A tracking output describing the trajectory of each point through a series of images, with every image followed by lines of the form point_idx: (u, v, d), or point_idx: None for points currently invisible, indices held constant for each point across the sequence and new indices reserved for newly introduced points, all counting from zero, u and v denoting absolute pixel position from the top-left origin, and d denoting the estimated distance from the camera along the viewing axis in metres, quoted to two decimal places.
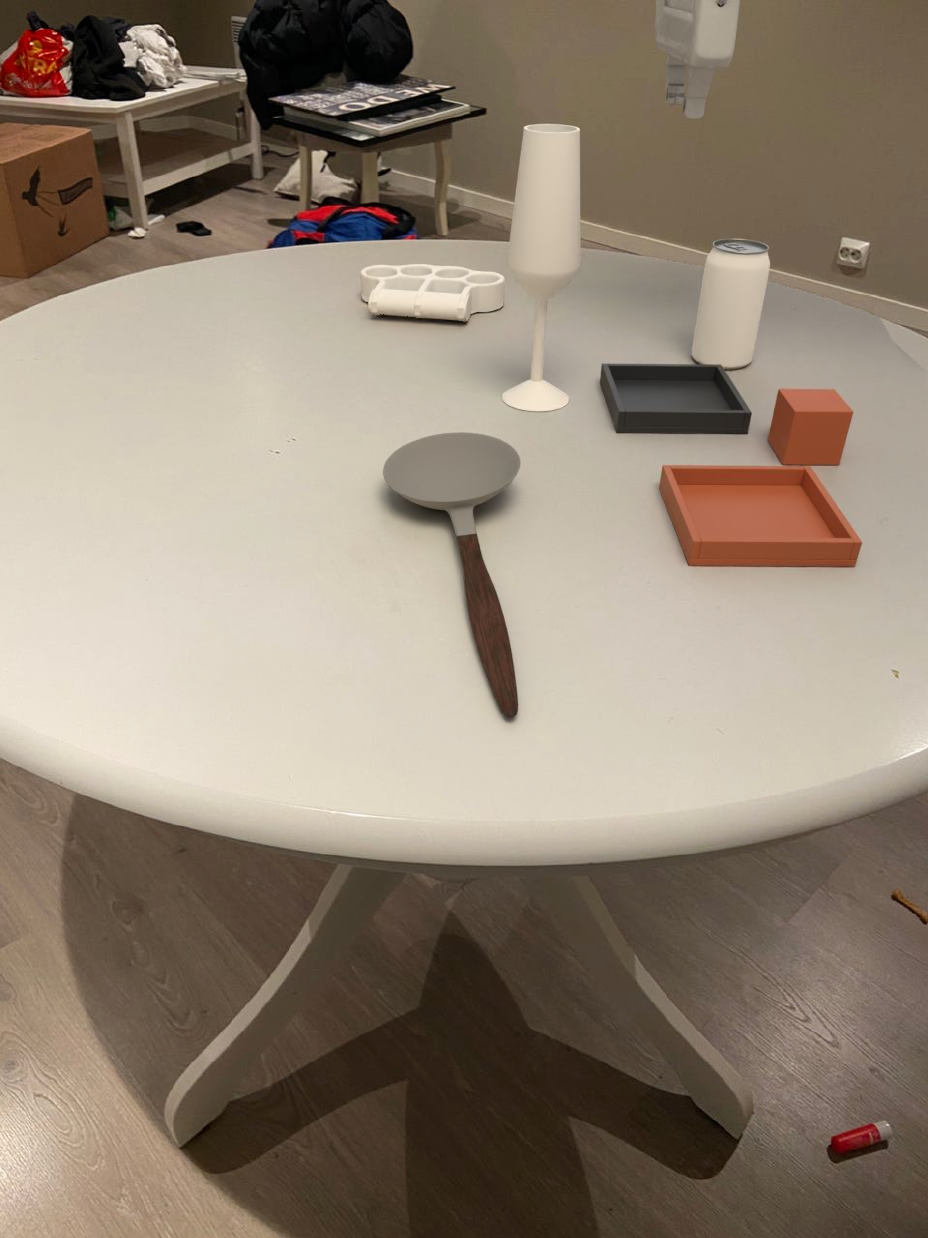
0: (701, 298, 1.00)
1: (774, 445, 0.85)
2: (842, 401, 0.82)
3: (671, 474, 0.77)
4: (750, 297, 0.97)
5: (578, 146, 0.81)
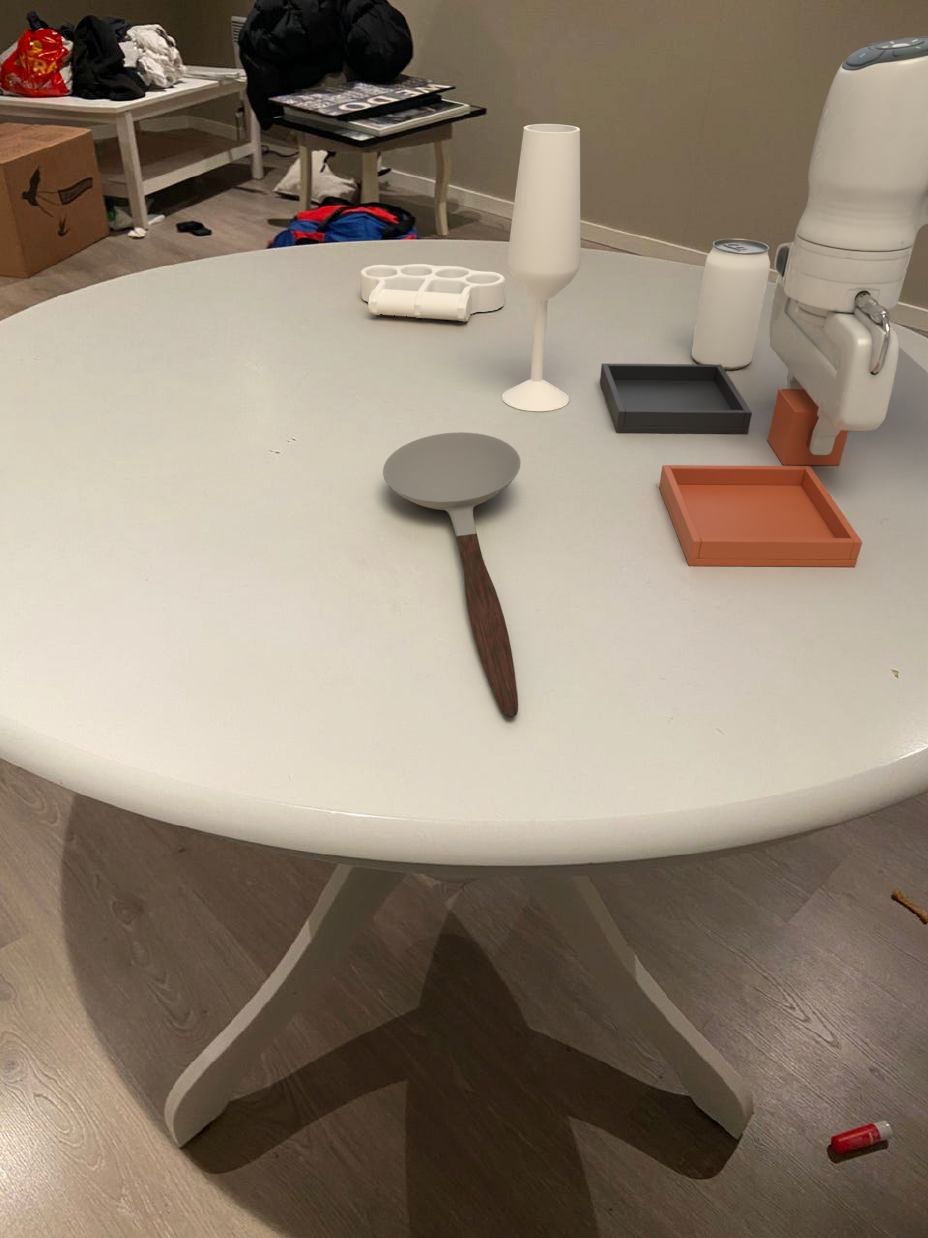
0: (701, 298, 1.00)
1: (774, 446, 0.85)
2: None
3: (671, 474, 0.77)
4: (750, 297, 0.97)
5: (578, 146, 0.81)
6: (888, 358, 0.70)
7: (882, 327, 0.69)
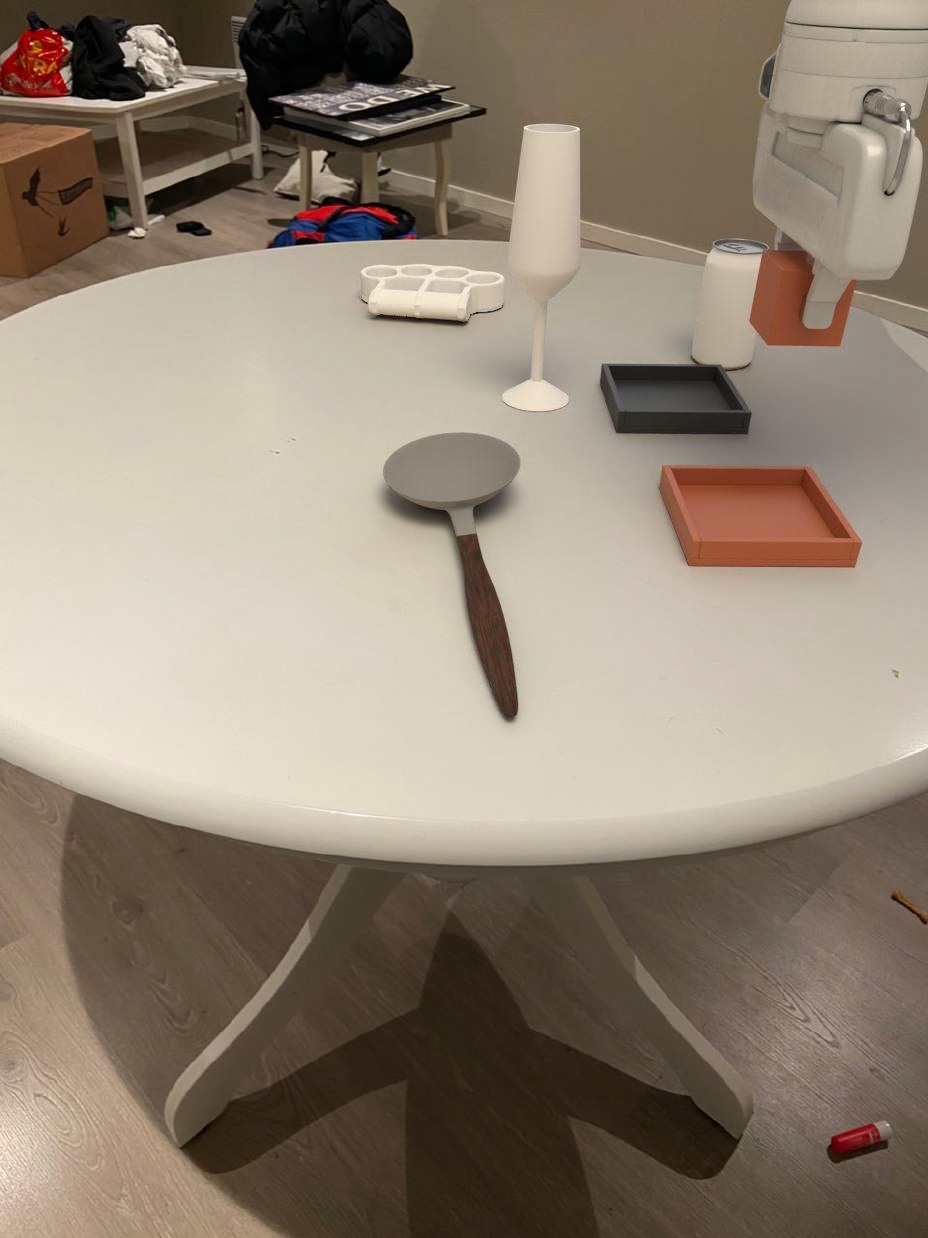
0: (701, 298, 1.00)
1: (758, 324, 0.66)
2: None
3: (671, 474, 0.77)
4: (750, 297, 0.97)
5: (578, 146, 0.81)
6: (908, 172, 0.52)
7: (900, 125, 0.51)
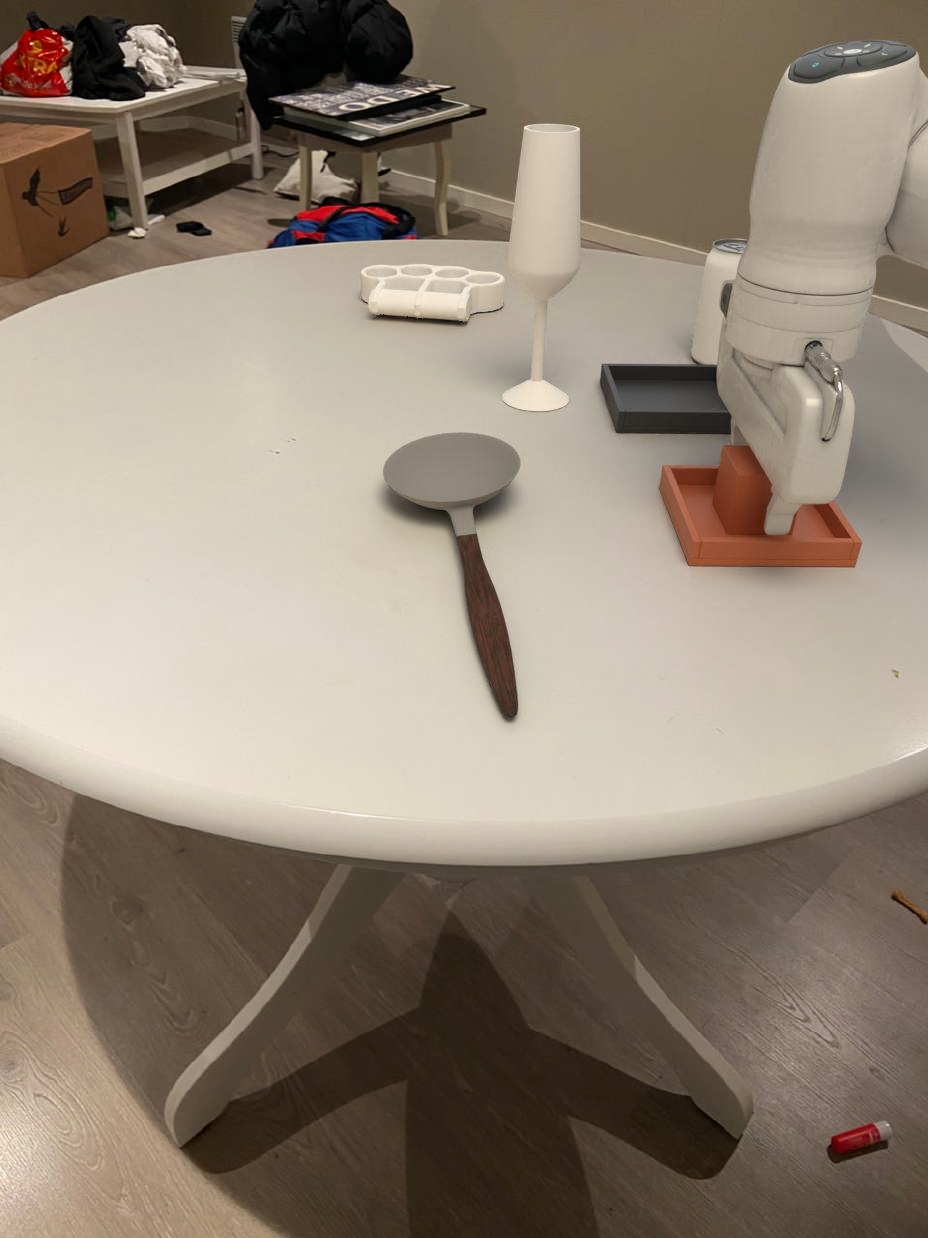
0: (701, 298, 1.00)
1: (719, 510, 0.74)
2: None
3: (671, 474, 0.77)
4: None
5: (578, 146, 0.81)
6: (842, 422, 0.59)
7: (834, 387, 0.58)
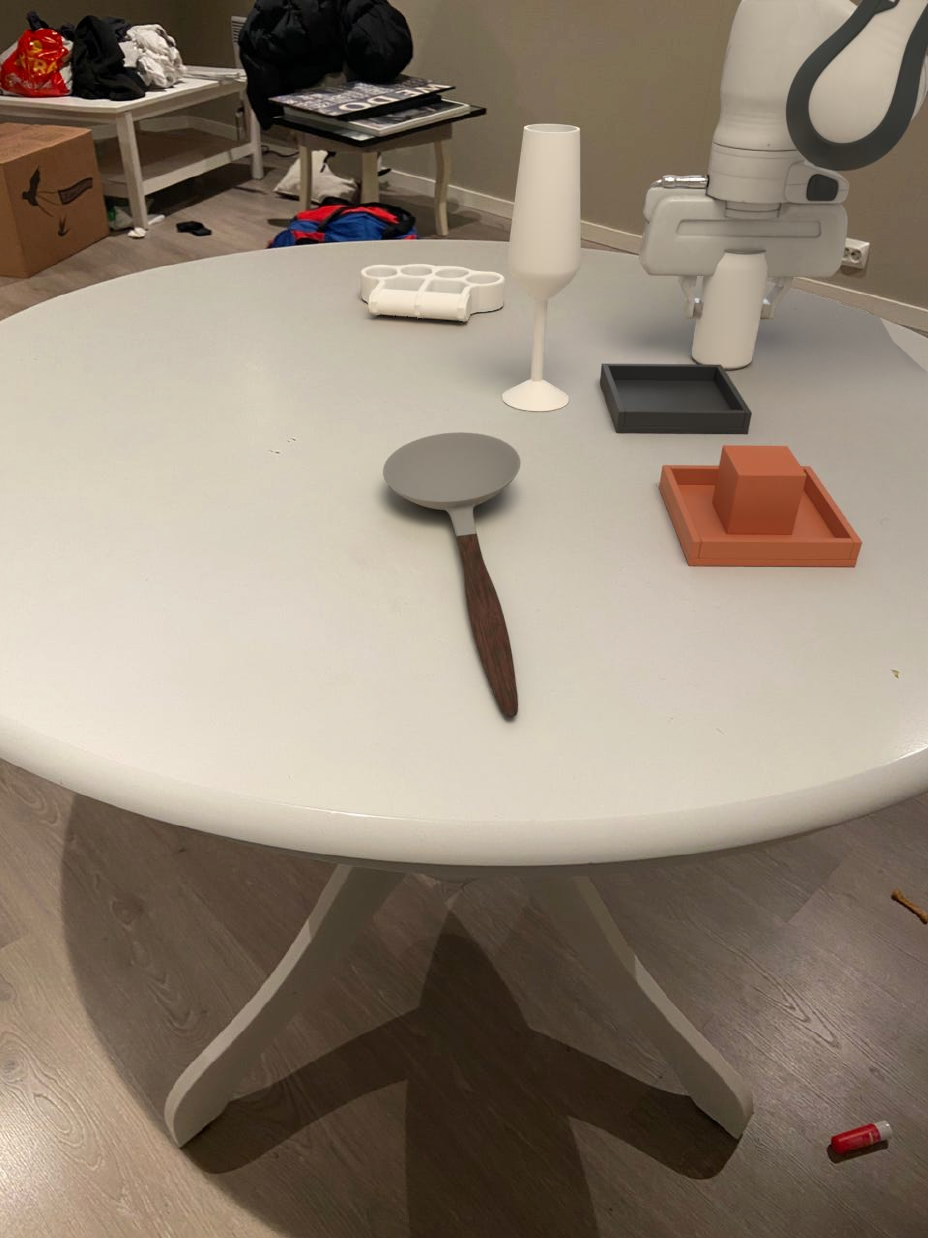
0: (701, 298, 1.00)
1: (719, 510, 0.74)
2: (795, 461, 0.71)
3: (671, 474, 0.77)
4: (750, 297, 0.97)
5: (578, 146, 0.81)
6: (653, 213, 0.94)
7: (658, 187, 0.94)
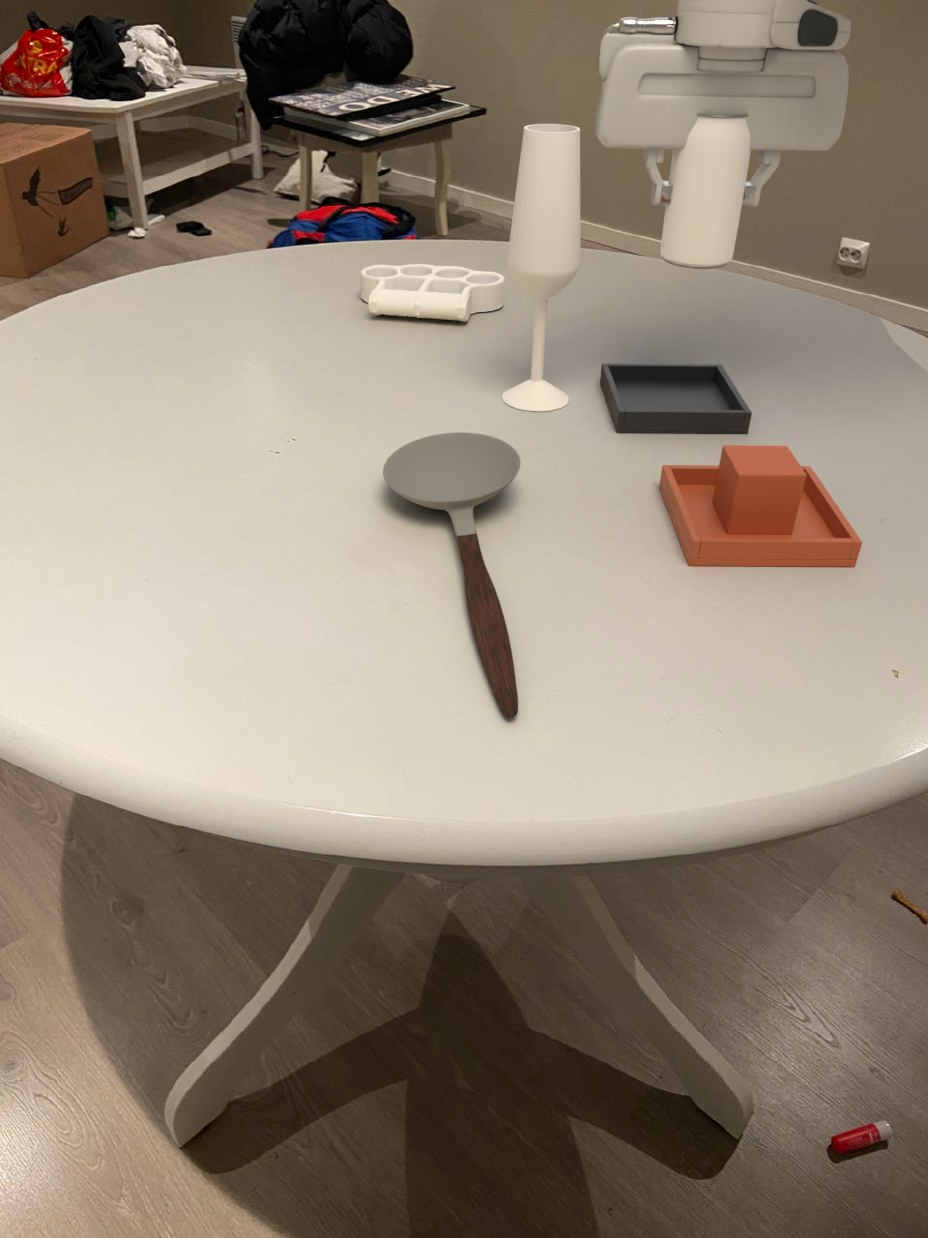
0: (670, 180, 0.82)
1: (719, 510, 0.74)
2: (795, 461, 0.71)
3: (671, 474, 0.77)
4: (729, 174, 0.79)
5: (578, 146, 0.81)
6: (610, 66, 0.76)
7: None
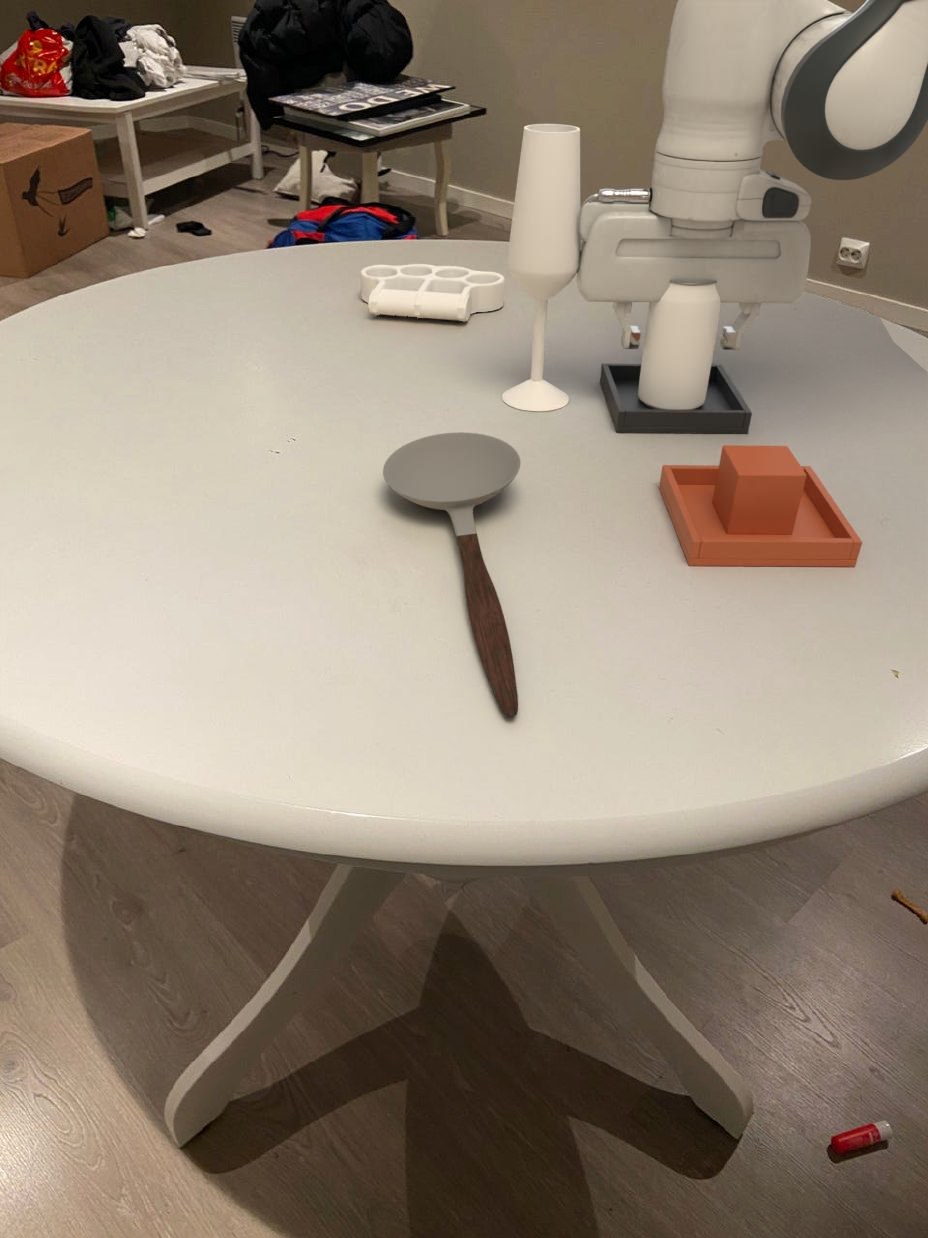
0: (646, 333, 0.89)
1: (719, 510, 0.74)
2: (795, 461, 0.71)
3: (671, 474, 0.77)
4: (700, 333, 0.86)
5: (578, 146, 0.81)
6: (590, 232, 0.83)
7: (594, 202, 0.82)
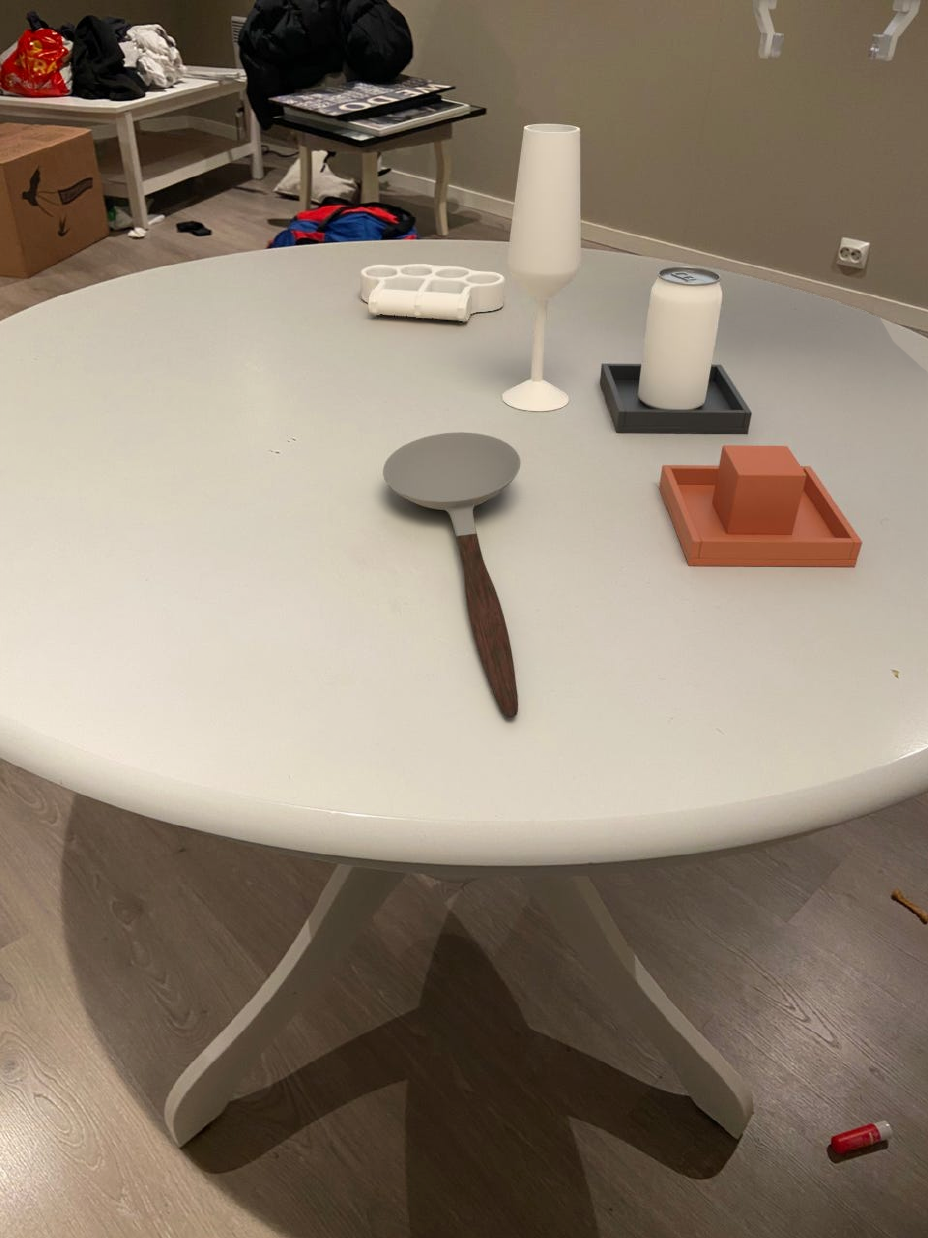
0: (646, 333, 0.89)
1: (719, 510, 0.74)
2: (795, 461, 0.71)
3: (671, 474, 0.77)
4: (700, 333, 0.86)
5: (578, 146, 0.81)
6: None
7: None
